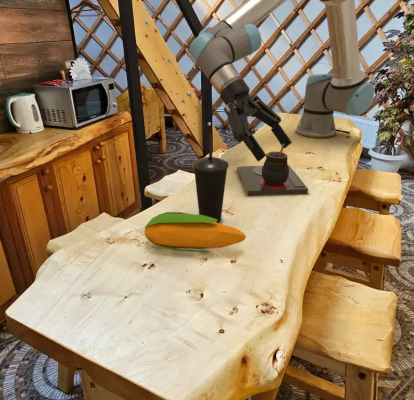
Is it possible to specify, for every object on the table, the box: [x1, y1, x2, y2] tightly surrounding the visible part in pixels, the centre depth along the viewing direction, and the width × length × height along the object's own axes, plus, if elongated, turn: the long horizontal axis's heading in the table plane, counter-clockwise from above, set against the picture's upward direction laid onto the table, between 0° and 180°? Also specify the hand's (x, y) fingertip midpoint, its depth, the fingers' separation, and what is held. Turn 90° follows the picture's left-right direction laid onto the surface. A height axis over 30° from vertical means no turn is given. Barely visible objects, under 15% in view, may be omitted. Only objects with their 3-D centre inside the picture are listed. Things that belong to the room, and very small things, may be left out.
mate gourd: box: [262, 144, 289, 186], centre depth 98 cm, size 7×8×10 cm
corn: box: [144, 211, 247, 253], centre depth 72 cm, size 7×8×20 cm
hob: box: [236, 164, 309, 197], centre depth 104 cm, size 16×18×2 cm
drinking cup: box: [192, 133, 229, 224], centre depth 80 cm, size 8×8×20 cm
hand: (275, 152), depth 96 cm, fingers open, 13 cm apart
